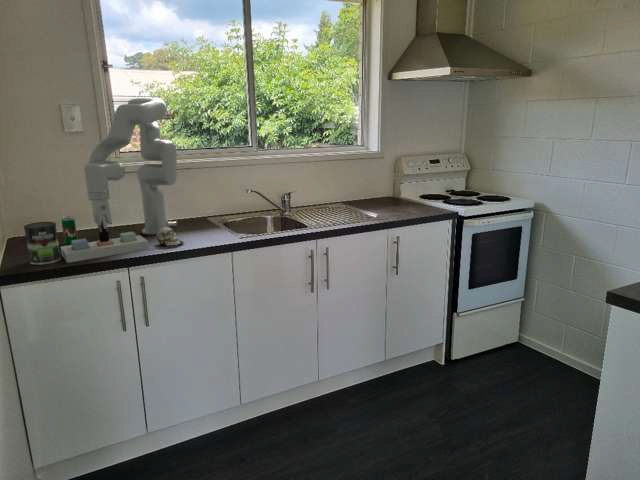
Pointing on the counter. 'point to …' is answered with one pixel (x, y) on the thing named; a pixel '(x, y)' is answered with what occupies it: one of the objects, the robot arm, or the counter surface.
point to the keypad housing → (103, 249)
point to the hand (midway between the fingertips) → (104, 241)
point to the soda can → (69, 229)
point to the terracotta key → (104, 243)
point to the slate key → (79, 244)
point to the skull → (167, 238)
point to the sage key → (128, 237)
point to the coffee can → (42, 243)
